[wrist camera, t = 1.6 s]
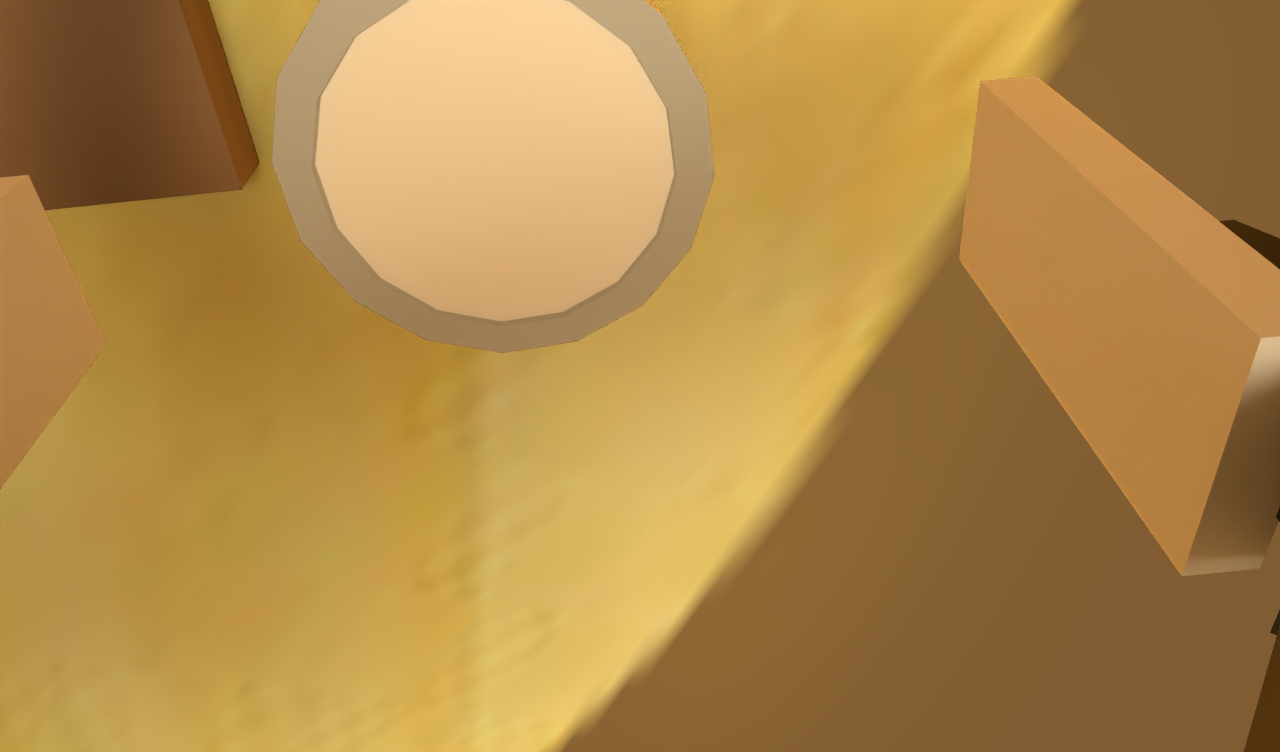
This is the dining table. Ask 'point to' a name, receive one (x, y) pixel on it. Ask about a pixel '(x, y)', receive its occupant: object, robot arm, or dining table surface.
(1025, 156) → the robot arm
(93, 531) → the dining table surface
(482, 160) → the beige cylinder
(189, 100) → the serving board
